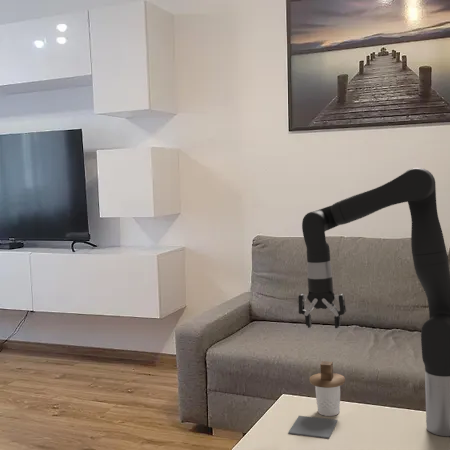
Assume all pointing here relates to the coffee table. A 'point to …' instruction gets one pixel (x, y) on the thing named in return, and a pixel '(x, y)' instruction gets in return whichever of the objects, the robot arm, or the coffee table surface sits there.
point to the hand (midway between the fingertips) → (323, 327)
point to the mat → (313, 427)
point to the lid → (327, 377)
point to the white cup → (328, 400)
